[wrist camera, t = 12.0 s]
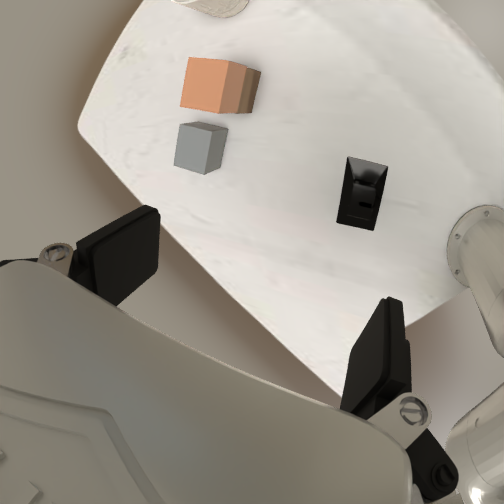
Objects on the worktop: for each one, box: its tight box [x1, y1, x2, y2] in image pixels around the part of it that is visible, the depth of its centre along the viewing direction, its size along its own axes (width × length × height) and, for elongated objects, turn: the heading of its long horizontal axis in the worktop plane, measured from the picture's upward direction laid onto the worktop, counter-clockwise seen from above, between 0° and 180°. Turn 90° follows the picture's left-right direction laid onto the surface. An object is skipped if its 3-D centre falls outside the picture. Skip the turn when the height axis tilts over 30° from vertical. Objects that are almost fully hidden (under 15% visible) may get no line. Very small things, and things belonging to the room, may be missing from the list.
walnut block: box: [237, 68, 261, 114], centre depth 35 cm, size 5×6×5 cm
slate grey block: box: [174, 122, 228, 175], centre depth 40 cm, size 5×6×5 cm
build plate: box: [336, 157, 388, 231], centre depth 36 cm, size 12×7×5 cm, turn 175°
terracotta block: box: [180, 57, 247, 114], centre depth 30 cm, size 5×6×5 cm
